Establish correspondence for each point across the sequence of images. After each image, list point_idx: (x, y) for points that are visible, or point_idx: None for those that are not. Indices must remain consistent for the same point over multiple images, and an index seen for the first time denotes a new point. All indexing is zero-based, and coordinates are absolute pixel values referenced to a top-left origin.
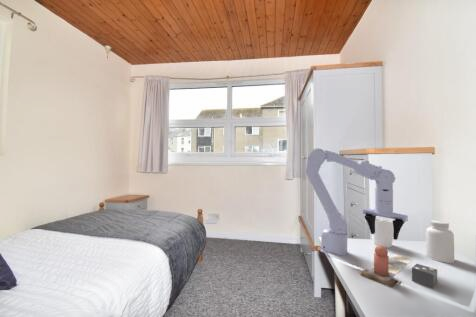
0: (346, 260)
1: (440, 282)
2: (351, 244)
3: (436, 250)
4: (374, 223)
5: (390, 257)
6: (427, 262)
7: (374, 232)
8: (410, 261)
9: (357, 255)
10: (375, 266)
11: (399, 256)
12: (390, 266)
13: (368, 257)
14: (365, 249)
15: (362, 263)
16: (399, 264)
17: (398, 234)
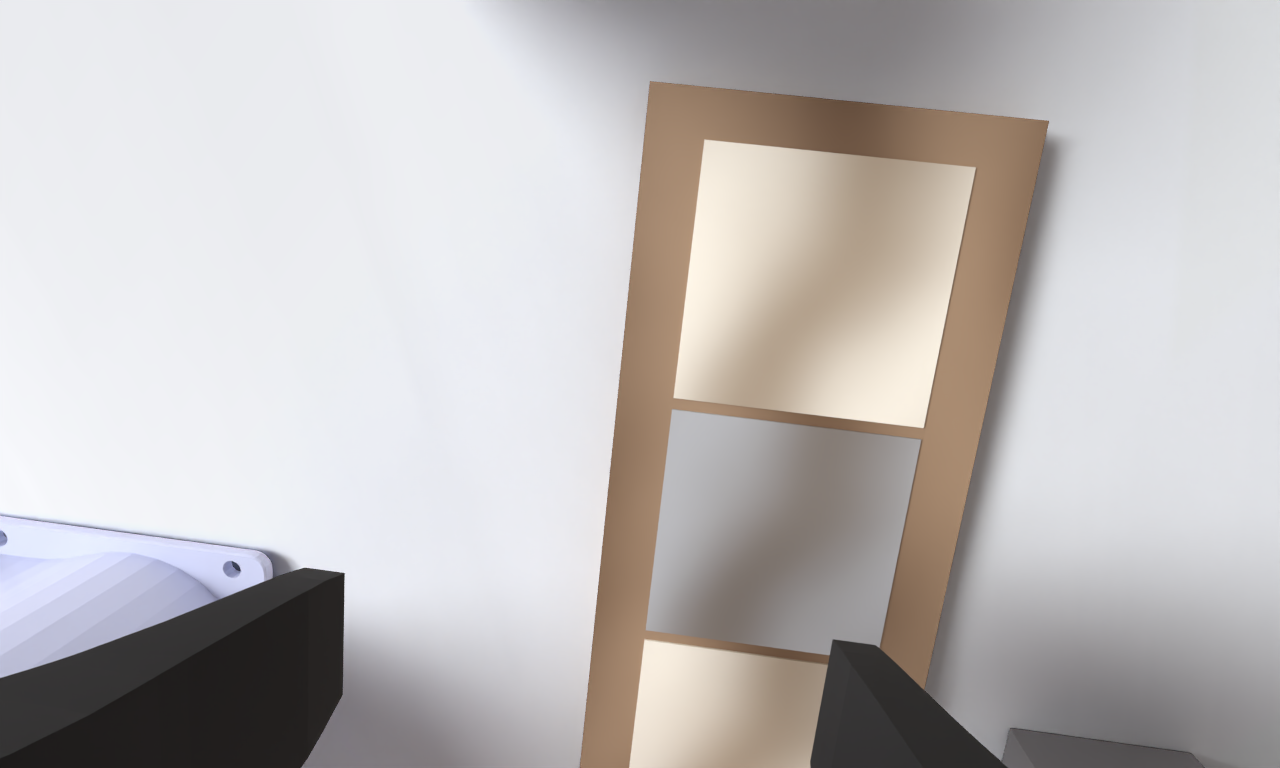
0: (317, 764)
1: (1232, 632)
2: (70, 111)
3: None
4: (128, 736)
5: (693, 371)
6: (1143, 4)
7: (332, 606)
8: (944, 318)
9: (333, 520)
10: None
11: (790, 217)
12: (753, 694)
13: (455, 482)
14: (309, 178)
15: (471, 721)
16: (832, 553)
17: (934, 703)
